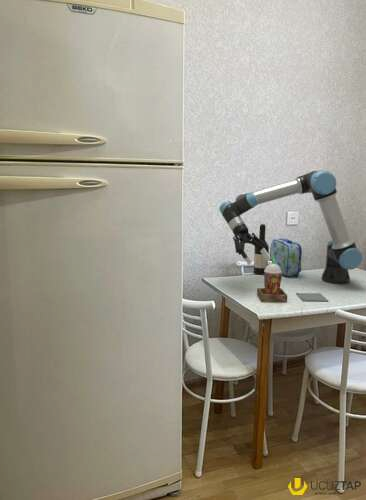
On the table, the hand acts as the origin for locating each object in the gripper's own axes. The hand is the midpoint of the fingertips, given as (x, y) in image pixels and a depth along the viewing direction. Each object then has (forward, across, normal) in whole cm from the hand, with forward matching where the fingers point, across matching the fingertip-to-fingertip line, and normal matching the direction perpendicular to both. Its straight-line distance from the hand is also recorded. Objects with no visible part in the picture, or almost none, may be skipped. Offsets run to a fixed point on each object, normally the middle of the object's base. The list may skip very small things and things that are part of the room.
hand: (259, 261), depth 197 cm
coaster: (+25, -18, +1) cm, 31 cm away
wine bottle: (-9, -36, -33) cm, 49 cm away
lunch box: (-3, -49, -28) cm, 56 cm away
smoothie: (+18, -1, -6) cm, 19 cm away
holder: (+18, -1, -6) cm, 19 cm away
